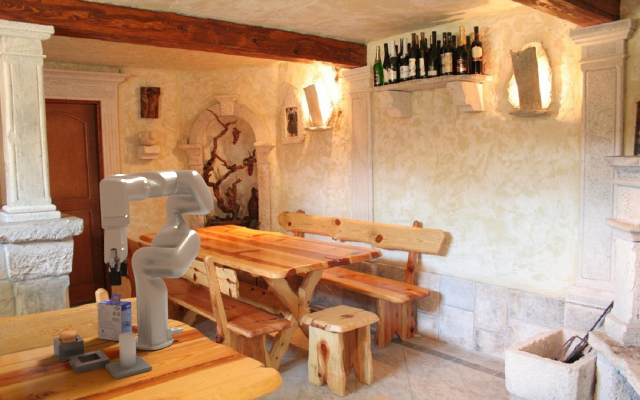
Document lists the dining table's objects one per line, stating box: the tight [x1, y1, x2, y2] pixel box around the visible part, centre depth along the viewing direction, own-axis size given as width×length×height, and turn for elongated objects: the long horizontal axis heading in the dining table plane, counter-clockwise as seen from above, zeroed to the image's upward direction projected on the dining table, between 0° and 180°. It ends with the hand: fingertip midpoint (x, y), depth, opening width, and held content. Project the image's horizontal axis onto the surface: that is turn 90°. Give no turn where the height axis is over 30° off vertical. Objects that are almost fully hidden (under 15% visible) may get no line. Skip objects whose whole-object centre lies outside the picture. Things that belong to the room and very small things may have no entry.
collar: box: [68, 349, 111, 375], centre depth 157 cm, size 9×9×2 cm
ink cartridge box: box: [97, 293, 133, 342], centre depth 178 cm, size 10×6×14 cm, turn 72°
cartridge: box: [118, 331, 137, 368], centre depth 154 cm, size 4×4×9 cm
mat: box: [104, 355, 153, 380], centre depth 154 cm, size 10×10×1 cm
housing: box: [53, 334, 85, 363], centre depth 164 cm, size 7×7×5 cm
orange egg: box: [58, 330, 79, 343], centre depth 163 cm, size 5×5×6 cm
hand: (118, 280), depth 154 cm, fingers open, 9 cm apart
